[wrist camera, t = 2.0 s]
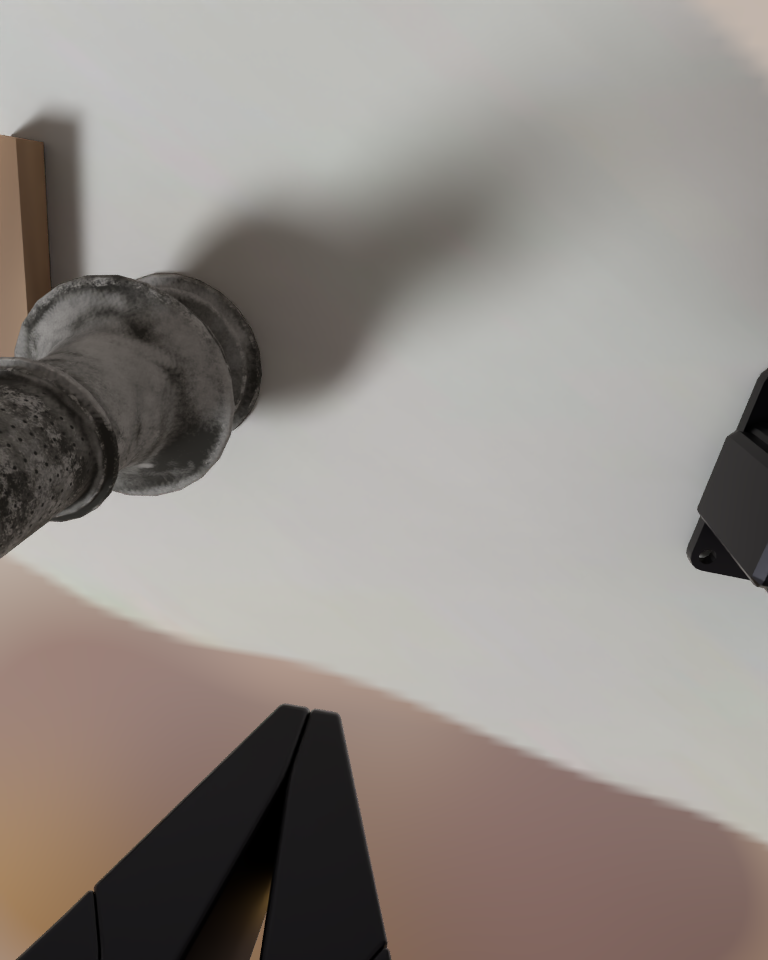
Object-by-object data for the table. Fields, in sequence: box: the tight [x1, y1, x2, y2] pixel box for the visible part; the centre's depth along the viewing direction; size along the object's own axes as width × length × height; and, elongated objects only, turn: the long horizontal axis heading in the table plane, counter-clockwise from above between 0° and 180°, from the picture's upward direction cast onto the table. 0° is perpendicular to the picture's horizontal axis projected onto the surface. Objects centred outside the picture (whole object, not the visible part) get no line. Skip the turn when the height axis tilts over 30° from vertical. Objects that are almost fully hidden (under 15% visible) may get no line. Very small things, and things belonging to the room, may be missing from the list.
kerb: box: [0, 135, 51, 357], centre depth 19 cm, size 1×11×1 cm, turn 171°
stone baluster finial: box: [0, 274, 262, 558], centre depth 14 cm, size 6×6×12 cm
